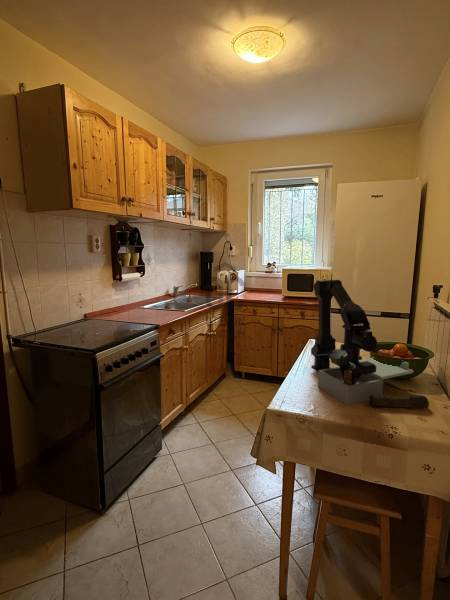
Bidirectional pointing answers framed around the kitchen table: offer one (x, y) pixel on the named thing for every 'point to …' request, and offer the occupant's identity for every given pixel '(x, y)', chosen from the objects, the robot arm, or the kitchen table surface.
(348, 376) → the peg
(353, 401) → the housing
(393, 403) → the dark brown rough bar
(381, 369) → the lid
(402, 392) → the kitchen table surface
